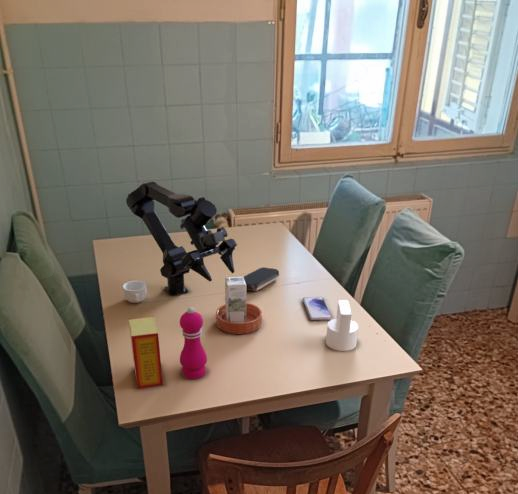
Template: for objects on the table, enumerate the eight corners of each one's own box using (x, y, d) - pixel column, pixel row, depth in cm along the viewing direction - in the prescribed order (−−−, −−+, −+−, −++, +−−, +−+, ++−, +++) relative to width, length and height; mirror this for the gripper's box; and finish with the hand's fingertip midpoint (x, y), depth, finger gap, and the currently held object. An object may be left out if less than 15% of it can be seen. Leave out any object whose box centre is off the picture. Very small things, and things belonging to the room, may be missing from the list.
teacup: (123, 296, 193) (121, 282, 190) (145, 293, 195) (144, 279, 192) (126, 309, 185) (124, 294, 182) (150, 306, 187) (148, 292, 184)
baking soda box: (134, 368, 155) (128, 317, 147) (158, 365, 157) (153, 314, 149) (137, 388, 148) (131, 335, 139) (162, 384, 149) (158, 332, 141)
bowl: (209, 318, 180) (208, 307, 178) (248, 309, 186) (248, 298, 184) (228, 339, 170) (228, 327, 168) (269, 328, 176) (270, 317, 173)
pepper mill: (196, 383, 150) (193, 317, 140) (175, 374, 153) (170, 309, 143) (212, 370, 155) (210, 305, 145) (191, 362, 159) (188, 298, 148)
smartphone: (322, 296, 193) (332, 317, 180) (322, 299, 193) (332, 320, 181) (302, 297, 192) (310, 318, 179) (301, 299, 193) (310, 320, 180)
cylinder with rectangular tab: (324, 334, 173) (327, 299, 167) (354, 335, 173) (358, 300, 166) (326, 350, 165) (330, 314, 159) (357, 351, 165) (362, 315, 159)
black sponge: (254, 295, 195) (254, 285, 193) (235, 288, 199) (234, 278, 198) (281, 279, 206) (281, 270, 205) (262, 273, 211) (262, 264, 209)
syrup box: (243, 317, 181) (243, 275, 173) (246, 326, 176) (246, 283, 168) (225, 318, 180) (224, 276, 172) (228, 327, 175) (227, 284, 167)
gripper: (184, 227, 164) (210, 273, 163) (232, 213, 176) (257, 257, 175) (170, 245, 173) (194, 289, 172) (216, 231, 184) (239, 272, 183)
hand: (222, 276), depth 175 cm, fingers open, 9 cm apart
